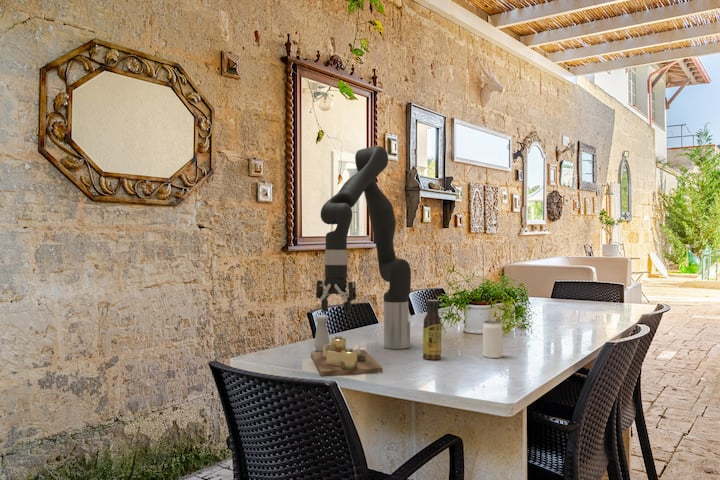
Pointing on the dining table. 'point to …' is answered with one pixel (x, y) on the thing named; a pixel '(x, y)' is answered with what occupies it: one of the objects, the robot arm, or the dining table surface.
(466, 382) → the dining table surface
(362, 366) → the levelling plate
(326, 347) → the dial
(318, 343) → the salt shaker
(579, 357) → the dining table surface
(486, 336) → the can
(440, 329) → the sauce bottle
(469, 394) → the dining table surface
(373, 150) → the robot arm
